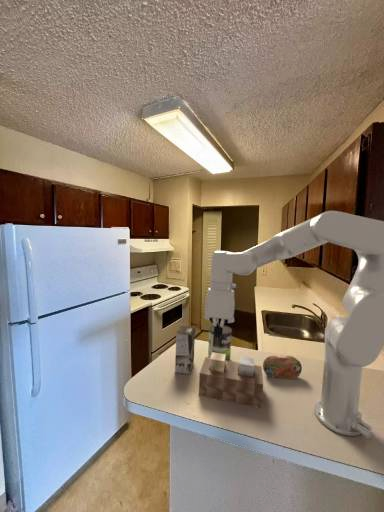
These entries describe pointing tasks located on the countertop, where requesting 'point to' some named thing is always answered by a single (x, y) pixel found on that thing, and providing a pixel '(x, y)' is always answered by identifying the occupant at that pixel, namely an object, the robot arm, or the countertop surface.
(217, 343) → the coffee can
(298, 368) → the tin
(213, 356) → the beech peg
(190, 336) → the coffee box
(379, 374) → the countertop surface
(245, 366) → the metal peg
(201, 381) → the sleeve block
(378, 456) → the countertop surface
